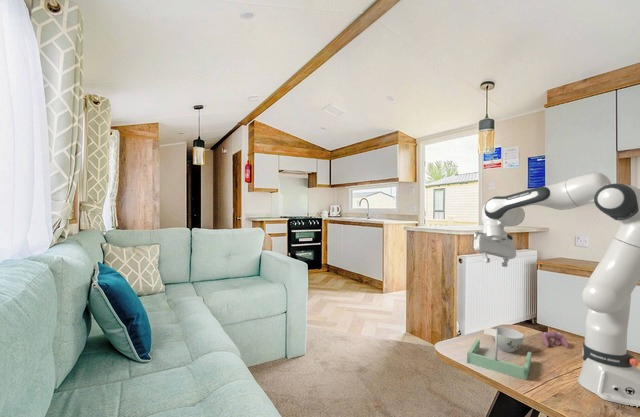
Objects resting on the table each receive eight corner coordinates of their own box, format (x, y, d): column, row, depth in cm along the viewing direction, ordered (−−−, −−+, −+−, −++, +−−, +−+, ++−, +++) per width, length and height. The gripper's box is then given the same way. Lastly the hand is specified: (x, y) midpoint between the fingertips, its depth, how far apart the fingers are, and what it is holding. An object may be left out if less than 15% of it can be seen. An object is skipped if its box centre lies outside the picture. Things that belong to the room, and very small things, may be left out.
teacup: (528, 357, 135) (529, 338, 134) (497, 354, 136) (497, 336, 136) (513, 342, 149) (513, 325, 149) (484, 340, 151) (485, 323, 151)
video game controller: (564, 348, 147) (560, 332, 150) (570, 348, 143) (566, 331, 146) (541, 347, 148) (538, 331, 151) (547, 346, 144) (543, 330, 147)
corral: (531, 362, 130) (532, 323, 130) (526, 380, 117) (528, 337, 117) (476, 347, 143) (477, 312, 143) (467, 362, 129) (468, 323, 129)
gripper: (479, 228, 144) (481, 258, 138) (517, 238, 148) (520, 267, 142) (469, 232, 149) (471, 261, 144) (506, 241, 153) (509, 270, 148)
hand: (496, 264), depth 143 cm, fingers open, 8 cm apart
